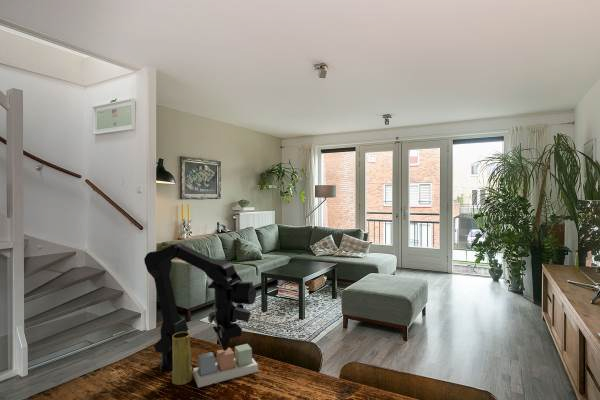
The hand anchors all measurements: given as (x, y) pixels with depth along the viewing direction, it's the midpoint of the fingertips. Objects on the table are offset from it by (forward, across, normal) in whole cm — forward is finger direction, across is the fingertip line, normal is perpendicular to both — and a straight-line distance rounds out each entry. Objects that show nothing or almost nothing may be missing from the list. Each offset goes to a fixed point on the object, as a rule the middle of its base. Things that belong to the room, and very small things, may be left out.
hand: (225, 350), depth 112 cm
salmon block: (+5, 0, 0) cm, 5 cm away
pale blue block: (+5, 0, +6) cm, 8 cm away
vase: (+8, +3, +13) cm, 15 cm away
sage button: (+6, 0, -6) cm, 8 cm away
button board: (+8, 0, 0) cm, 8 cm away
